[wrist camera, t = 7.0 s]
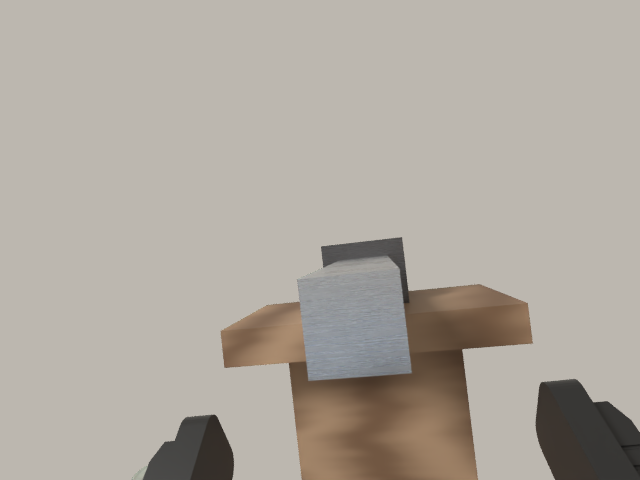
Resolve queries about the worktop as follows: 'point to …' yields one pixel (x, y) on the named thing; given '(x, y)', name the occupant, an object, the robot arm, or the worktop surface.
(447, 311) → the stand
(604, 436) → the robot arm
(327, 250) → the grey metal bar
